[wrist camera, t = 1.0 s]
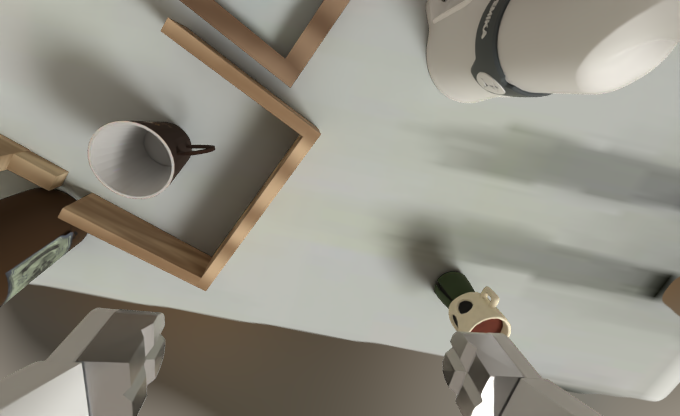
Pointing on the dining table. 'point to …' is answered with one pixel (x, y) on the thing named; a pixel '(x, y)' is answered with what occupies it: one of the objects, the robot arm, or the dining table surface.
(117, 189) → the coffee mug
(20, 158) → the tan blocky wooden part
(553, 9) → the robot arm
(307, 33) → the brown rectangular open frame
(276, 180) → the frame
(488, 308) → the character mug
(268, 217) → the dining table surface
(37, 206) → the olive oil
